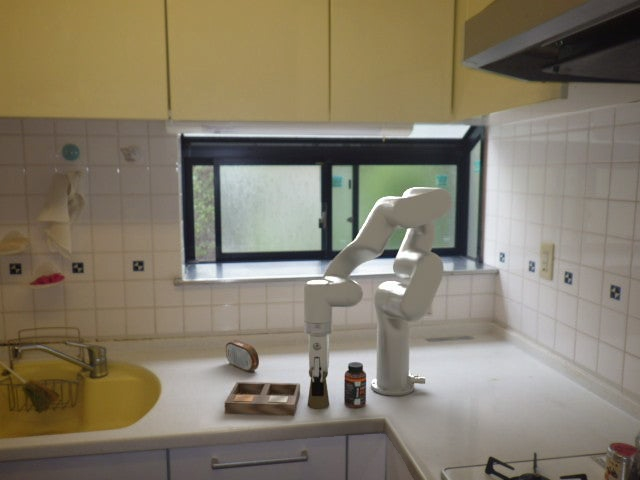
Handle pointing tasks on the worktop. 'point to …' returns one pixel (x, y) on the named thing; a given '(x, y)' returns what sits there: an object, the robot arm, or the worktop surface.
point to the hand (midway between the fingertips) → (318, 391)
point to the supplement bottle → (355, 385)
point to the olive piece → (318, 401)
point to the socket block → (263, 398)
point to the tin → (242, 355)
